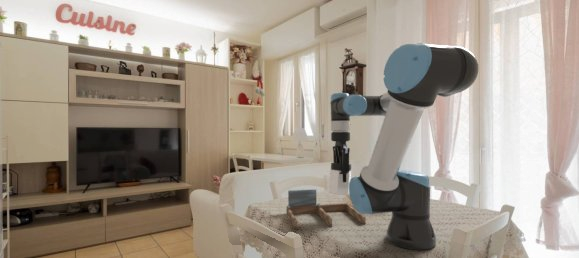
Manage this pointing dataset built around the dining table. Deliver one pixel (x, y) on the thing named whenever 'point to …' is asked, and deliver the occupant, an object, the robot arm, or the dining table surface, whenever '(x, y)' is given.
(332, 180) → the jar
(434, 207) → the dining table surface
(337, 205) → the wooden divider rails
